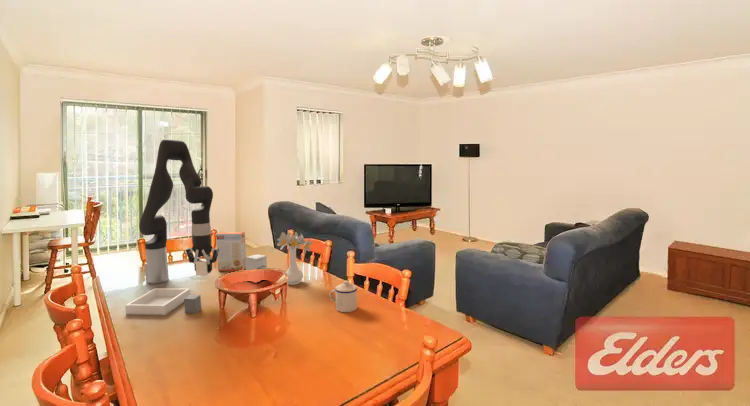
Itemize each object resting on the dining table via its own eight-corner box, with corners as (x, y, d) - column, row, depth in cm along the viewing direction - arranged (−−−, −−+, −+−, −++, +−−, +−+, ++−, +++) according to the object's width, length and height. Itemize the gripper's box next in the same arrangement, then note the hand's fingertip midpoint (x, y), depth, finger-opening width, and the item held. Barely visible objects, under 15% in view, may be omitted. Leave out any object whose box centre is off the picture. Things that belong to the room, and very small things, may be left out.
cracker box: (247, 268, 223) (245, 231, 220) (242, 271, 217) (240, 233, 214) (223, 268, 224) (221, 231, 222) (217, 271, 218) (215, 233, 216)
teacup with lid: (360, 305, 168) (360, 278, 166) (352, 314, 159) (352, 285, 158) (334, 302, 172) (333, 276, 170) (325, 310, 163) (324, 282, 162)
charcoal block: (185, 313, 162) (184, 298, 161) (190, 308, 166) (189, 294, 165) (195, 313, 161) (194, 298, 161) (201, 308, 166) (200, 294, 165)
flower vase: (307, 288, 190) (305, 236, 186) (272, 285, 194) (270, 234, 191) (317, 280, 202) (316, 231, 199) (284, 277, 207) (282, 229, 203)
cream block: (196, 275, 171) (195, 261, 170) (201, 272, 175) (200, 258, 175) (206, 275, 171) (205, 261, 170) (211, 272, 175) (210, 259, 174)
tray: (125, 314, 160) (125, 305, 160) (155, 296, 180) (155, 288, 179) (164, 315, 159) (164, 305, 159) (190, 297, 179) (189, 288, 179)
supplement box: (256, 284, 197) (255, 258, 195) (246, 281, 201) (245, 256, 199) (267, 279, 203) (266, 255, 201) (257, 277, 207) (256, 253, 205)
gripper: (221, 231, 174) (223, 269, 176) (189, 231, 175) (191, 269, 177) (213, 235, 167) (215, 275, 169) (180, 234, 167) (182, 274, 170)
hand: (203, 271), depth 173 cm, fingers closed on cream block, 4 cm apart
